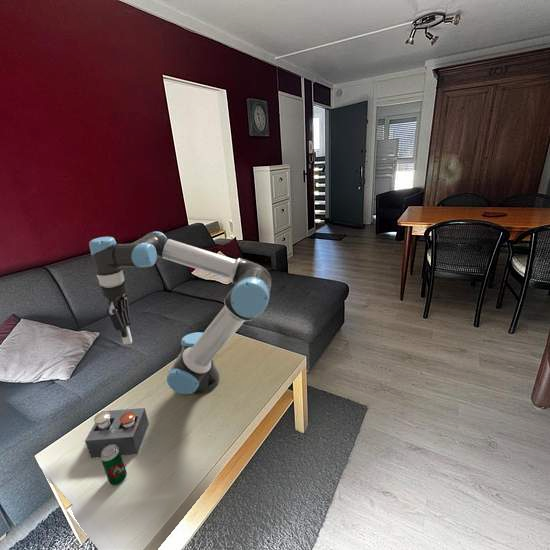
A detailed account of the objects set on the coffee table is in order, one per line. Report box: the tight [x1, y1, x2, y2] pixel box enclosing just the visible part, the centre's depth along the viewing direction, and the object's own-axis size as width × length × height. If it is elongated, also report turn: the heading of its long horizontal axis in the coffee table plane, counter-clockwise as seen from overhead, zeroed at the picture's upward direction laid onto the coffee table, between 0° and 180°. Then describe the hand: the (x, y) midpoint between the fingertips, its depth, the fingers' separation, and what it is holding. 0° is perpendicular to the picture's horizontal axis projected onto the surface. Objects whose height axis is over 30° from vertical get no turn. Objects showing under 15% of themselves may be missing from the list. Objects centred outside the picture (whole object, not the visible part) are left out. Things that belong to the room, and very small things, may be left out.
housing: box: [84, 407, 150, 459], centre depth 104 cm, size 15×12×8 cm
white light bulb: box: [93, 410, 111, 431], centre depth 103 cm, size 5×5×8 cm
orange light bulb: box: [120, 412, 135, 429], centre depth 104 cm, size 5×5×8 cm
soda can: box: [100, 444, 128, 486], centre depth 91 cm, size 5×5×12 cm
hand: (128, 342), depth 110 cm, fingers closed
